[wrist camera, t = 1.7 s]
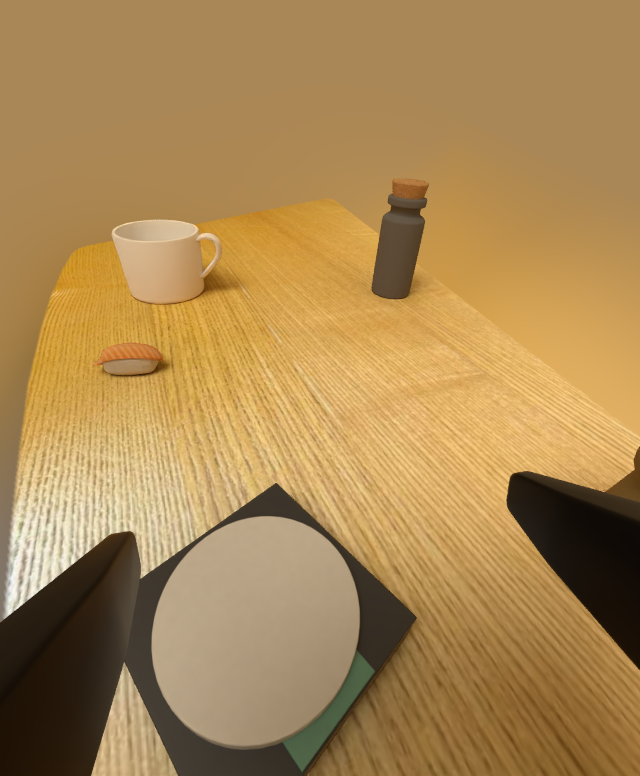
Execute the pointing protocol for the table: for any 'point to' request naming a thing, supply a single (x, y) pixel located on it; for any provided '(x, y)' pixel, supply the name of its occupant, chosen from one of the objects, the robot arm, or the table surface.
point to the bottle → (400, 239)
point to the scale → (259, 642)
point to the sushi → (129, 359)
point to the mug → (163, 259)
